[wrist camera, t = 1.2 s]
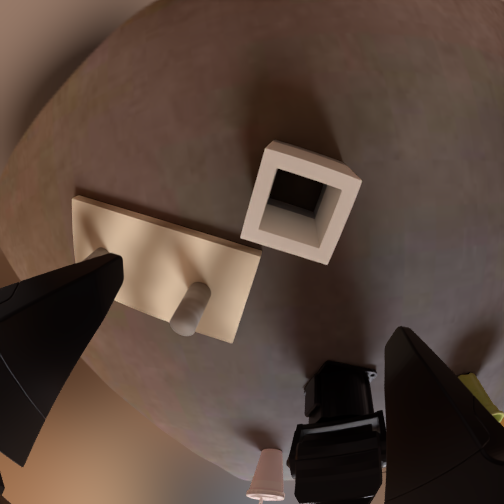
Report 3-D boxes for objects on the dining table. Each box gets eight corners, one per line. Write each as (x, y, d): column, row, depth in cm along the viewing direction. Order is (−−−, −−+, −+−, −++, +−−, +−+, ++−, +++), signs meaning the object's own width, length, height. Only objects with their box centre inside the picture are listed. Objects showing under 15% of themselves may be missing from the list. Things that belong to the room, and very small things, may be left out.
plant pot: (476, 353, 24) (499, 406, 16) (489, 377, 26) (507, 421, 18) (419, 393, 28) (431, 447, 20) (440, 410, 30) (451, 455, 22)
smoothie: (254, 444, 39) (240, 514, 27) (291, 447, 38) (283, 518, 26) (254, 455, 42) (242, 518, 30) (288, 458, 41) (279, 521, 29)
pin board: (262, 250, 22) (251, 291, 17) (234, 336, 27) (221, 379, 22) (78, 195, 22) (38, 216, 17) (83, 279, 27) (54, 307, 22)
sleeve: (343, 162, 18) (362, 181, 13) (320, 224, 20) (327, 265, 15) (274, 139, 18) (265, 148, 13) (255, 204, 20) (240, 238, 15)
